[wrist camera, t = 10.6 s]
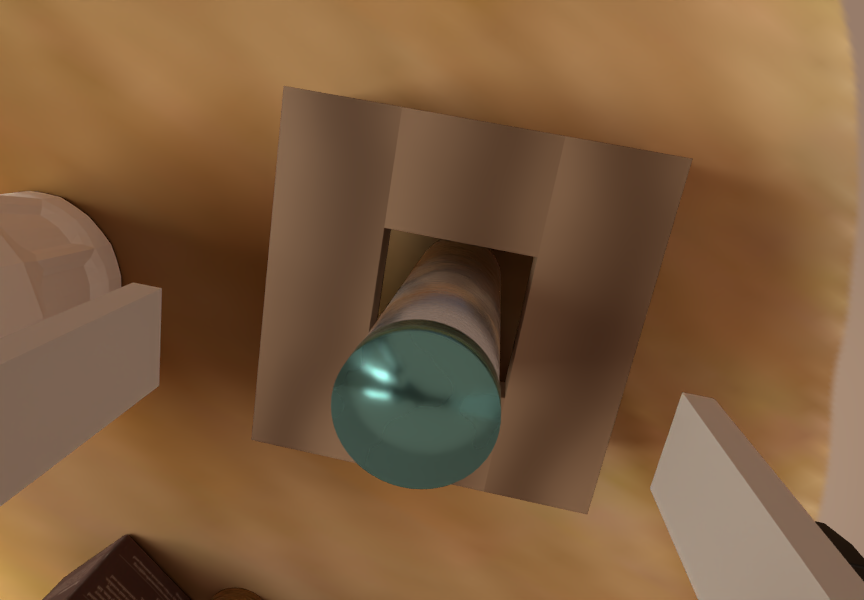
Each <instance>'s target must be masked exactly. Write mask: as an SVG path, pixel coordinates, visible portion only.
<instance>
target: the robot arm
mask: <svg viewBox="0 0 864 600" xmlns="http://www.w3.org/2000/svg"><path fill="white" fill-rule="evenodd" d="M161 304H162V288H158V287H153V286H148V285H143V284H138V283H131V284H128V285H126V286H123V287H121V288H119V289H116V290H114V291H112V292H109V293H107V294H104V295H102V296H100V297H97V298H95V299H92V300H90V301H88V302H85V303H83V304H81V305H78V306H76V307H73V308H71V309H69V310H66V311H64V312H61V313H59V314H57V315H54V316H52V317H50V318H47V319H45V320H42V321H40V322H38V323H35V324H33V325H30V326H28V327H26V328H23V329H21V330H19V331H16V332H14V333H11V334H9V335H7V336H4V337H2V338H0V506H1V505H3V504H4V503H5V502H7V501H8V500H9V499H11V498H12V497H13V496H15V495H16V494H17V493H19V492H20V491H21V490H22V489H24V488H25V487H26V486H28V485H29V484H30V483H32V482H33V481H34V480H36V479H37V478H38V477H40V476H41V475H42V474H44V473H45V472H46V471H48V470H49V469H50V468H51V467H53V466H54V465H55V464H57V463H58V462H59V461H61V460H62V459H63V458H65V457H66V456H67V455H69V454H70V453H71V452H73V451H74V450H75V449H76V448H78V447H79V446H80V445H82V444H83V443H84V442H86V441H87V440H88V439H90V438H91V437H92V436H94V435H95V434H96V433H98V432H99V431H100V430H102V429H103V428H104V427H105V426H107V425H108V424H109V423H111V422H112V421H113V420H115V419H116V418H117V417H119V416H120V415H121V414H123V413H124V412H125V411H127V410H128V409H129V408H131V407H132V406H133V405H134V404H136V403H137V402H138V401H140V400H141V399H142V398H144V397H145V396H146V395H148V394H149V393H150V392H152V391H153V390H154V389H156V388H157V387H158V386H159V373H160V339H161ZM650 489H651V492H652V494H653V496H654V499H655V501H656V503H657V506H658V508H659V510H660V513H661V515H662V517H663V520H664V522H665V524H666V526H667V529H668V531H669V533H670V536H671V538H672V540H673V543H674V545H675V547H676V550H677V552H678V554H679V557H680V559H681V561H682V564H683V566H684V568H685V570H686V573H687V575H688V577H689V580H690V582H691V584H692V587H693V589H694V591H695V594H696V596H697V598H698V600H864V558H863V557H862V556H861V555H860V553H859V552H858V551H857V550H856V549H855V548H854V546H853V545H852V544H850V543H849V542H848V541H846V540H845V539H844V538H843V537H841V536H840V535H839V534H837V533H836V532H835V531H834V530H832V529H831V528H830V527H828V526H827V525H826V524H824V523H820V522H816V521H814V520H813V519H812V518H811V516H810V515H809V514H808V513H807V511H806V510H805V509H804V508H803V507H802V505H801V504H800V503H799V502H798V500H797V499H796V498H795V497H794V496H793V494H792V493H791V492H790V491H789V489H788V488H787V487H786V486H785V485H784V483H783V482H782V481H781V480H780V478H779V477H778V476H777V475H776V474H775V472H774V471H773V470H772V469H771V467H770V466H769V465H768V464H767V462H766V461H765V460H764V459H763V458H762V456H761V455H760V454H759V453H758V451H757V450H756V449H755V448H754V447H753V445H752V444H751V443H750V442H749V440H748V439H747V438H746V437H745V436H744V434H743V433H742V432H741V431H740V429H739V428H738V427H737V426H736V425H735V423H734V422H733V421H732V420H731V418H730V417H729V416H728V415H727V413H726V412H725V411H724V410H723V409H722V407H721V406H720V405H719V404H718V402H717V401H716V400H715V399H714V398H709V397H704V396H699V395H694V394H689V393H684V392H682V395H681V398H680V401H679V404H678V407H677V410H676V413H675V416H674V419H673V422H672V425H671V428H670V431H669V433H668V436H667V439H666V442H665V445H664V448H663V451H662V454H661V457H660V460H659V463H658V466H657V469H656V472H655V475H654V478H653V481H652V484H651V487H650Z"/></svg>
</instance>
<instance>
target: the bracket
mask: <svg viewBox="0 0 864 600" xmlns="http://www.w3.org/2000/svg"><path fill="white" fill-rule="evenodd" d="M691 162H692V158H686V157H680V156H675V155H669V154H664V153H658V152H652V151H647V150H641V149H636V148H630V147H624V146H619V145H613V144H607V143H602V142H596V141H591V140H585V139H579V138H574V137H568V136H562V135H557V134H551V133H546V132H540V131H534V130H529V129H523V128H518V127H512V126H506V125H501V124H495V123H489V122H484V121H478V120H473V119H467V118H461V117H456V116H450V115H445V114H439V113H433V112H428V111H422V110H416V109H411V108H405V107H400V106H394V105H388V104H383V103H377V102H372V101H366V100H360V99H355V98H349V97H343V96H338V95H332V94H327V93H321V92H315V91H310V90H304V89H299V88H293V87H287V86H284V89H283V100H282V111H281V122H280V133H279V144H278V155H277V166H276V177H275V188H274V199H273V210H272V221H271V232H270V243H269V254H268V265H267V276H266V287H265V298H264V309H263V320H262V331H261V342H260V352H259V363H258V374H257V385H256V396H255V407H254V418H253V429H252V440H255V441H259V442H264V443H268V444H273V445H277V446H282V447H286V448H291V449H295V450H300V451H304V452H309V453H313V454H318V455H322V456H327V457H331V458H336V459H340V460H345V461H349V462H354V463H356V462H355V461H354V460H353V459H352V458H351V456H350V455H349V454H348V453H347V451H346V450H345V448H344V447H343V446H342V444H341V442H340V440H339V438H338V436H337V433H336V431H335V428H334V425H333V420H332V414H331V396H332V391H333V386H334V383H335V381H336V378H337V376H338V374H339V372H340V370H341V368H342V367H343V365H344V364H345V363H346V361H347V360H348V358H349V357H350V355H351V354H352V353H353V351H354V350H355V349H356V347H357V346H358V345H359V344H360V343H361V342H362V341H363V340H364V339H365V338H366V336H367V335H368V333H369V332H370V330H371V329H372V327H373V326H374V325H375V323H376V322H377V317H378V311H379V304H380V298H381V291H382V284H383V278H384V271H385V265H386V258H387V252H388V245H389V238H390V232H391V229H393V230H398V231H404V232H409V233H414V234H419V235H424V236H430V237H435V238H440V239H445V240H450V241H455V242H461V243H466V244H471V245H476V246H481V247H487V248H492V249H497V250H502V251H507V252H512V253H518V254H523V255H528V256H533V257H534V258H533V262H532V267H531V271H530V276H529V280H528V284H527V289H526V293H525V297H524V302H523V306H522V311H521V315H520V319H519V324H518V328H517V332H516V337H515V341H514V346H513V350H512V354H511V359H510V363H509V367H508V372H507V376H506V381H505V382H500V381H499V382H500V389H501V424H500V431H499V435H498V438H497V441H496V443H495V446H494V448H493V450H492V452H491V453H490V455H489V456H488V458H487V459H486V460H485V461H484V462H483V464H482V465H481V466H480V467H479V468H478V469H476V470H475V471H474V472H473V473H472V474H470V475H468V476H467V477H465V478H464V479H462V480H460V481H458V482H455V483H453V485H457V486H462V487H466V488H471V489H475V490H480V491H484V492H489V493H493V494H498V495H502V496H507V497H511V498H516V499H520V500H525V501H529V502H534V503H538V504H543V505H547V506H552V507H556V508H561V509H565V510H570V511H574V512H579V513H583V514H588V511H589V507H590V504H591V500H592V497H593V494H594V490H595V487H596V483H597V480H598V477H599V473H600V470H601V467H602V463H603V460H604V456H605V453H606V450H607V446H608V443H609V440H610V436H611V433H612V429H613V426H614V423H615V419H616V416H617V412H618V409H619V406H620V402H621V399H622V396H623V392H624V389H625V385H626V382H627V379H628V375H629V372H630V369H631V365H632V362H633V358H634V355H635V352H636V348H637V345H638V341H639V338H640V335H641V331H642V328H643V325H644V321H645V318H646V314H647V311H648V308H649V304H650V301H651V298H652V294H653V291H654V287H655V284H656V281H657V277H658V274H659V270H660V267H661V264H662V260H663V257H664V254H665V250H666V247H667V243H668V240H669V237H670V233H671V230H672V227H673V223H674V220H675V216H676V213H677V210H678V206H679V203H680V199H681V196H682V193H683V189H684V186H685V183H686V179H687V176H688V172H689V169H690V166H691Z"/></svg>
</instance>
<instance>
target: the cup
mask: <svg viewBox="0 0 864 600" xmlns="http://www.w3.org/2000/svg"><path fill="white" fill-rule="evenodd" d="M119 288H121V274H120V270H119V267H118V263H117V260H116V257H115V254H114V251H113V248H112V245H111V243H110V242H109V241H108V239H107V238H106V237H105V235H104V234H103V233H102V231H101V230H100V229H99V228H98V227H97V225H96V224H95V223H94V222H93V221H92V220H91V218H90V217H89V216H87V215H86V214H85V213H83V212H82V211H81V210H79V209H78V208H77V207H75V206H74V205H72V204H71V203H69V202H68V201H66V200H64V199H63V198H61V197H58V196H54V195H50V194H46V193H40V192H33V191H25V192H15V193H8V194H0V338H2V337H4V336H7V335H9V334H11V333H14V332H16V331H19V330H21V329H23V328H26V327H28V326H30V325H33V324H35V323H38V322H40V321H42V320H45V319H47V318H50V317H52V316H54V315H57V314H59V313H61V312H64V311H66V310H69V309H71V308H73V307H76V306H78V305H81V304H83V303H85V302H88V301H90V300H92V299H95V298H97V297H100V296H102V295H104V294H107V293H109V292H112V291H114V290H116V289H119Z"/></svg>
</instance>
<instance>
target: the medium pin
mask: <svg viewBox="0 0 864 600" xmlns="http://www.w3.org/2000/svg"><path fill="white" fill-rule="evenodd" d="M211 600H263V599H262V598H261V597H259V596H258V595H256V594H255V593H253V592H251V591H248V590H245V589H241V588H227V589H224V590H221V591H219V592H218V593H217V594H215V595H214V597H213V598H212V599H211Z"/></svg>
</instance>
